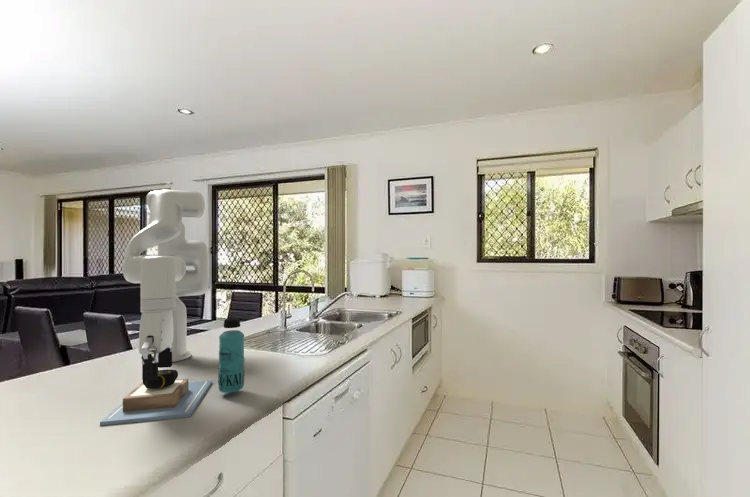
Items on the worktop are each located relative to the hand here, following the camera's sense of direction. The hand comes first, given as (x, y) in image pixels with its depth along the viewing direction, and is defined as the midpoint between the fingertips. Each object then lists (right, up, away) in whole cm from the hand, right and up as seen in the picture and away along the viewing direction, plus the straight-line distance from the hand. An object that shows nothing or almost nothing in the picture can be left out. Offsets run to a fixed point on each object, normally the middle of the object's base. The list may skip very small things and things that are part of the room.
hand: (158, 373), depth 89 cm
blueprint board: (+1, -8, +1) cm, 8 cm away
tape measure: (0, -4, +1) cm, 4 cm away
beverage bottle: (+16, -8, +6) cm, 19 cm away
